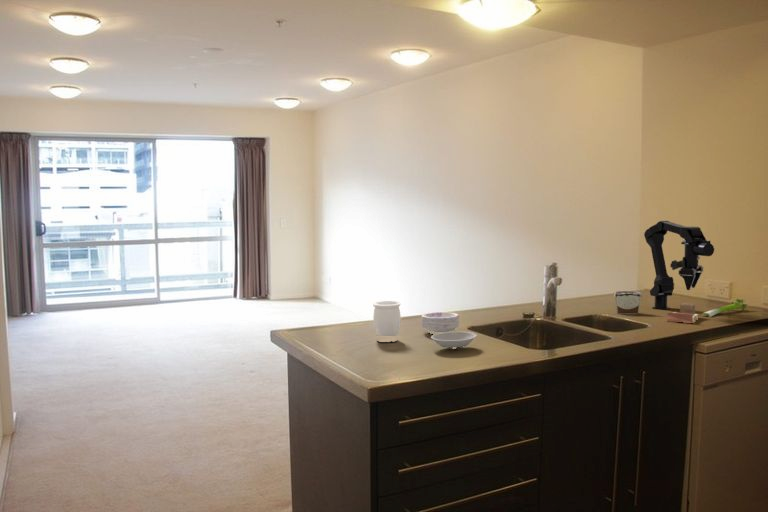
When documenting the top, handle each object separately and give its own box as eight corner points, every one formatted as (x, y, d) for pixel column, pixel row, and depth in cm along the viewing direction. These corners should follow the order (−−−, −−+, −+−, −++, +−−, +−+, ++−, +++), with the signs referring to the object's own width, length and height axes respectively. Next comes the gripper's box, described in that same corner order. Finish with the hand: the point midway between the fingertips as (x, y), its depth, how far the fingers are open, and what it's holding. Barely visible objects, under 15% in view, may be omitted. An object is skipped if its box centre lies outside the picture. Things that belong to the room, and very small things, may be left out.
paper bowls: (438, 328, 261) (437, 310, 261) (466, 333, 250) (466, 314, 250) (414, 334, 251) (413, 315, 250) (442, 339, 240) (442, 319, 239)
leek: (698, 320, 277) (735, 307, 292) (713, 324, 272) (750, 312, 287) (699, 307, 276) (737, 295, 291) (714, 311, 270) (752, 299, 285)
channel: (673, 317, 274) (673, 308, 274) (697, 319, 268) (698, 310, 267) (667, 321, 265) (667, 312, 265) (691, 323, 259) (692, 314, 259)
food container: (637, 311, 290) (637, 290, 289) (641, 314, 284) (641, 292, 283) (610, 311, 291) (610, 290, 290) (614, 314, 285) (614, 292, 284)
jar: (381, 345, 232) (380, 306, 231) (369, 340, 241) (368, 302, 240) (405, 341, 237) (405, 303, 236) (393, 336, 246) (392, 300, 245)
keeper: (682, 316, 277) (682, 303, 276) (694, 317, 274) (695, 304, 273) (679, 318, 273) (680, 304, 272) (692, 319, 270) (692, 305, 269)
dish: (462, 342, 234) (461, 329, 233) (485, 350, 221) (485, 336, 221) (423, 348, 225) (422, 335, 225) (445, 356, 213) (444, 342, 212)
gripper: (677, 252, 289) (677, 285, 290) (666, 255, 275) (666, 290, 276) (703, 253, 282) (703, 286, 283) (693, 256, 267) (692, 291, 269)
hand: (690, 288), depth 278 cm, fingers open, 9 cm apart
